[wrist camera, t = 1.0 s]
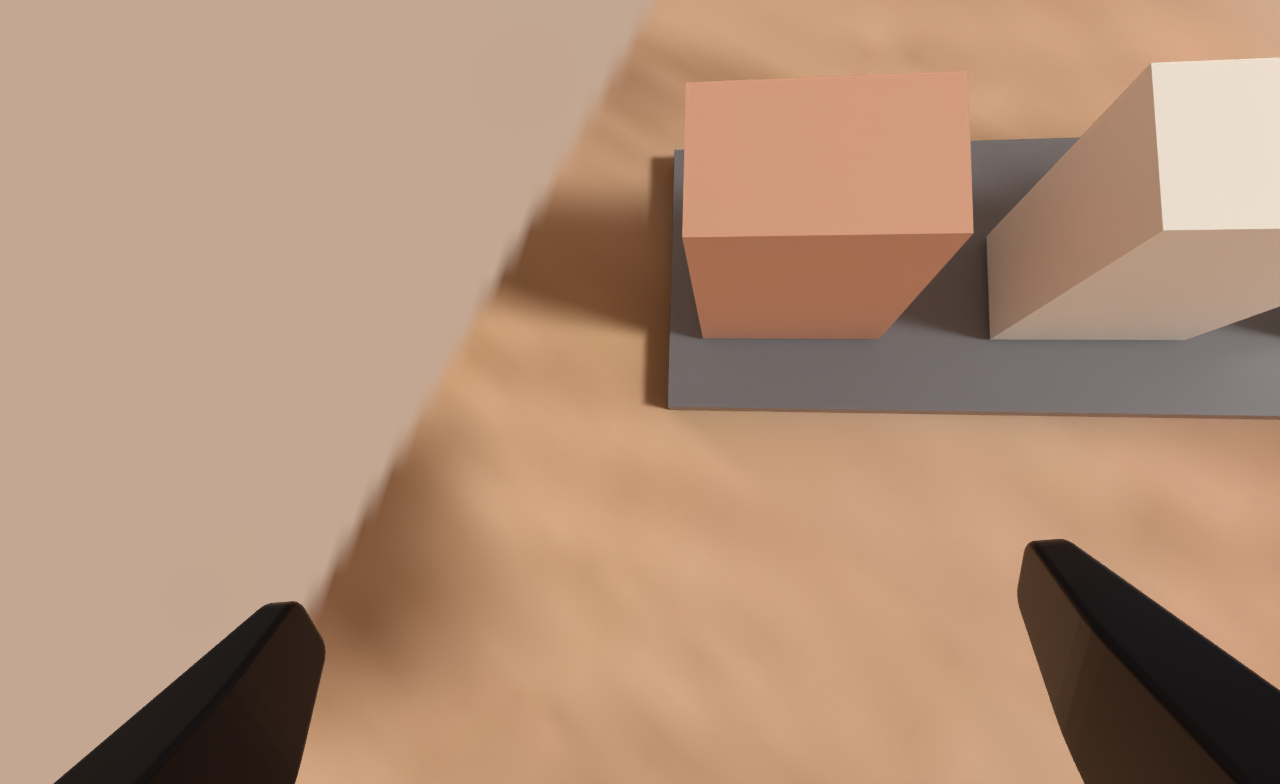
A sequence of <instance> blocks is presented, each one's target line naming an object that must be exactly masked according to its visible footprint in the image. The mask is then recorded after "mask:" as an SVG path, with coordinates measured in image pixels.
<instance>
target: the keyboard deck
mask: <svg viewBox="0 0 1280 784" xmlns="http://www.w3.org/2000/svg"><path fill="white" fill-rule="evenodd" d="M1078 139H1079V138H1051V139H1018V140H985V141H970V143H971V172H972V202H973V231H974V233H973V234H972V235H971V237H970V238H969V239H968V240H967V241H966V242H965V243H964V244H963V245H962V247H961V248H960V249H959V250H958V251H957V252H956V253H955V254H954V256H953V257H952V258H951V259H950V260H949V261H948V262H947V263H946V265H945V266H944V267H943V268H942V269H941V270H940V271H939V272H938V274H937V275H936V276H935V277H934V278H933V279H932V280H931V281H930V283H929V284H928V285H927V286H926V287H925V288H924V289H923V290H922V292H921V293H920V294H919V295H918V296H917V297H916V298H915V299H914V301H913V302H912V303H911V304H910V305H909V306H908V307H907V308H906V309H905V311H904V312H903V313H902V314H901V315H900V316H899V317H898V318H897V320H896V321H895V322H894V323H893V324H892V325H891V326H890V327H889V329H888V330H887V331H886V332H885V333H884V334H883V335H882V336H881V338H880V339H703V336H702V332H701V327H700V322H699V317H698V312H697V307H696V302H695V297H694V292H693V288H692V283H691V278H690V273H689V268H688V263H687V258H686V253H685V248H684V244H683V239H682V226H683V185H684V150H675V152H674V190H673V229H672V267H671V306H670V344H669V383H668V407H669V409H670V410H710V411H773V412H836V413H899V414H962V415H1026V416H1089V417H1152V418H1215V419H1278V420H1280V307H1277V308H1274V309H1271V310H1268V311H1266V312H1263V313H1260V314H1257V315H1254V316H1251V317H1249V318H1246V319H1243V320H1240V321H1237V322H1235V323H1232V324H1229V325H1226V326H1223V327H1221V328H1218V329H1215V330H1212V331H1209V332H1206V333H1204V334H1201V335H1198V336H1195V337H1192V338H1190V339H1187V340H990V322H989V295H988V267H987V240H986V236H987V235H988V234H989V233H990V232H991V231H992V230H993V229H994V228H995V227H996V226H997V225H998V224H999V223H1000V222H1001V220H1002V219H1003V218H1004V217H1005V216H1006V215H1007V214H1008V213H1009V212H1010V211H1011V210H1012V209H1013V208H1014V207H1015V206H1016V205H1017V204H1018V203H1019V202H1020V201H1021V199H1022V198H1023V197H1024V196H1025V195H1026V194H1027V193H1028V192H1029V191H1030V190H1031V189H1032V188H1033V187H1034V186H1035V185H1036V184H1037V183H1038V182H1039V181H1040V179H1041V178H1042V177H1043V176H1044V175H1045V174H1046V173H1047V172H1048V171H1049V170H1050V169H1051V168H1052V167H1053V166H1054V165H1055V164H1056V163H1057V162H1058V161H1059V159H1060V158H1061V157H1062V156H1063V155H1064V154H1065V153H1066V152H1067V151H1068V150H1069V149H1070V148H1071V147H1072V146H1073V145H1074V144H1075V143H1076V142H1077V141H1078Z"/></svg>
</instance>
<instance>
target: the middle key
mask: <svg viewBox="0 0 1280 784" xmlns="http://www.w3.org/2000/svg"><path fill="white" fill-rule="evenodd" d="M986 240H987V267H988V295H989V322H990V340H1187V339H1190V338H1192V337H1195V336H1198V335H1201V334H1204V333H1206V332H1209V331H1212V330H1215V329H1218V328H1221V327H1223V326H1226V325H1229V324H1232V323H1235V322H1237V321H1240V320H1243V319H1246V318H1249V317H1251V316H1254V315H1257V314H1260V313H1263V312H1266V311H1268V310H1271V309H1274V308H1277V307H1280V58H1257V59H1233V60H1210V61H1186V62H1162V63H1151V64H1150V65H1149V66H1148V67H1147V68H1146V69H1145V70H1144V71H1143V72H1142V73H1141V74H1140V75H1139V76H1138V77H1137V78H1136V80H1135V81H1134V82H1133V83H1132V84H1131V85H1130V86H1129V87H1128V88H1127V89H1126V90H1125V91H1124V92H1123V93H1122V94H1121V95H1120V96H1119V97H1118V98H1117V100H1116V101H1115V102H1114V103H1113V104H1112V105H1111V106H1110V107H1109V108H1108V109H1107V110H1106V111H1105V112H1104V113H1103V114H1102V115H1101V116H1100V117H1099V118H1098V120H1097V121H1096V122H1095V123H1094V124H1093V125H1092V126H1091V127H1090V128H1089V129H1088V130H1087V131H1086V132H1085V133H1084V134H1083V135H1082V136H1081V137H1080V138H1079V139H1078V141H1077V142H1076V143H1075V144H1074V145H1073V146H1072V147H1071V148H1070V149H1069V150H1068V151H1067V152H1066V153H1065V154H1064V155H1063V156H1062V157H1061V158H1060V159H1059V161H1058V162H1057V163H1056V164H1055V165H1054V166H1053V167H1052V168H1051V169H1050V170H1049V171H1048V172H1047V173H1046V174H1045V175H1044V176H1043V177H1042V178H1041V179H1040V181H1039V182H1038V183H1037V184H1036V185H1035V186H1034V187H1033V188H1032V189H1031V190H1030V191H1029V192H1028V193H1027V194H1026V195H1025V196H1024V197H1023V198H1022V199H1021V201H1020V202H1019V203H1018V204H1017V205H1016V206H1015V207H1014V208H1013V209H1012V210H1011V211H1010V212H1009V213H1008V214H1007V215H1006V216H1005V217H1004V218H1003V219H1002V220H1001V222H1000V223H999V224H998V225H997V226H996V227H995V228H994V229H993V230H992V231H991V232H990V233H989V234H988V235H987V236H986Z"/></svg>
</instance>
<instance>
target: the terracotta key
mask: <svg viewBox="0 0 1280 784" xmlns="http://www.w3.org/2000/svg"><path fill="white" fill-rule="evenodd" d="M973 233H974V231H973V202H972V172H971V143H970V113H969V84H968V71H947V72H924V73H900V74H876V75H853V76H829V77H805V78H782V79H758V80H735V81H711V82H687V83H686V101H685V143H684V185H683V226H682V239H683V244H684V248H685V253H686V258H687V263H688V268H689V273H690V278H691V283H692V288H693V292H694V297H695V302H696V307H697V312H698V317H699V322H700V327H701V332H702V336H703V339H880V338H881V336H882V335H883V334H884V333H885V332H886V331H887V330H888V329H889V327H890V326H891V325H892V324H893V323H894V322H895V321H896V320H897V318H898V317H899V316H900V315H901V314H902V313H903V312H904V311H905V309H906V308H907V307H908V306H909V305H910V304H911V303H912V302H913V301H914V299H915V298H916V297H917V296H918V295H919V294H920V293H921V292H922V290H923V289H924V288H925V287H926V286H927V285H928V284H929V283H930V281H931V280H932V279H933V278H934V277H935V276H936V275H937V274H938V272H939V271H940V270H941V269H942V268H943V267H944V266H945V265H946V263H947V262H948V261H949V260H950V259H951V258H952V257H953V256H954V254H955V253H956V252H957V251H958V250H959V249H960V248H961V247H962V245H963V244H964V243H965V242H966V241H967V240H968V239H969V238H970V237H971V235H972V234H973Z"/></svg>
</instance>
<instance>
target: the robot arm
mask: <svg viewBox="0 0 1280 784" xmlns="http://www.w3.org/2000/svg"><path fill="white" fill-rule="evenodd" d="M1017 597H1018V604H1019V608H1020V611H1021V614H1022V617H1023V620H1024V623H1025V626H1026V629H1027V632H1028V635H1029V638H1030V641H1031V644H1032V647H1033V650H1034V653H1035V656H1036V659H1037V662H1038V665H1039V668H1040V671H1041V674H1042V677H1043V680H1044V683H1045V686H1046V689H1047V692H1048V695H1049V698H1050V701H1051V704H1052V707H1053V710H1054V713H1055V715H1056V718H1057V721H1058V724H1059V726H1060V729H1061V732H1062V735H1063V737H1064V739H1065V742H1066V744H1067V746H1068V749H1069V751H1070V753H1071V756H1072V758H1073V760H1074V762H1075V764H1076V767H1077V769H1078V771H1079V773H1080V775H1081V777H1082V779H1083V782H1084V784H1280V690H1279V689H1277V688H1276V687H1274V686H1273V685H1272V684H1270V683H1269V682H1267V681H1266V680H1265V679H1263V678H1262V677H1260V676H1259V675H1258V674H1256V673H1255V672H1253V671H1252V670H1251V669H1249V668H1248V667H1246V666H1245V665H1243V664H1242V663H1241V662H1239V661H1238V660H1236V659H1235V658H1234V657H1232V656H1231V655H1229V654H1228V653H1227V652H1225V651H1224V650H1222V649H1221V648H1220V647H1218V646H1217V645H1215V644H1214V643H1213V642H1211V641H1210V640H1208V639H1207V638H1205V637H1204V636H1203V635H1201V634H1200V633H1198V632H1197V631H1196V630H1194V629H1193V628H1191V627H1190V626H1189V625H1187V624H1186V623H1184V622H1183V621H1182V620H1180V619H1179V618H1177V617H1176V616H1175V615H1173V614H1172V613H1170V612H1169V611H1167V610H1166V609H1165V608H1163V607H1162V606H1160V605H1159V604H1158V603H1156V602H1155V601H1153V600H1152V599H1151V598H1149V597H1148V596H1146V595H1145V594H1144V593H1142V592H1141V591H1139V590H1138V589H1137V588H1135V587H1134V586H1132V585H1131V584H1129V583H1128V582H1127V581H1125V580H1124V579H1122V578H1121V577H1120V576H1118V575H1117V574H1115V573H1114V572H1113V571H1111V570H1110V569H1108V568H1107V567H1106V566H1104V565H1103V564H1101V563H1100V562H1099V561H1097V560H1096V559H1094V558H1093V557H1091V556H1090V555H1089V554H1087V553H1086V552H1084V551H1083V550H1082V549H1080V548H1079V547H1077V546H1076V545H1075V544H1073V543H1071V542H1069V541H1067V540H1064V539H1052V540H1040V541H1032V542H1030V543H1028V544H1027V546H1026V548H1025V551H1024V555H1023V561H1022V566H1021V572H1020V577H1019V582H1018V589H1017ZM324 661H325V645H324V641H323V639H322V637H321V635H320V634H319V632H318V630H317V629H316V627H315V625H314V624H313V622H312V620H311V619H310V617H309V615H308V614H307V612H306V610H305V609H304V607H303V606H302V605H301V604H299V603H298V602H294V601H291V602H278V603H270V604H267V605H264V606H263V607H261V608H260V609H259V610H257V611H256V612H255V613H254V614H253V615H251V616H250V617H249V618H248V619H247V620H246V621H244V622H243V623H242V624H241V625H240V626H239V627H237V628H236V629H235V630H234V631H233V632H231V633H230V634H229V635H228V636H227V637H226V638H225V639H223V640H222V641H221V642H220V643H219V644H217V645H216V646H215V647H214V648H213V649H211V650H210V651H209V652H208V653H207V654H206V655H204V656H203V657H202V658H201V659H200V660H198V661H197V662H196V663H195V664H194V665H193V666H191V667H190V668H189V669H188V670H187V671H186V672H185V673H183V674H182V675H181V676H180V677H178V678H177V679H176V680H175V681H174V682H173V683H171V684H170V685H169V686H168V687H167V688H166V689H164V690H163V691H162V692H161V693H160V694H158V695H157V696H156V697H155V698H154V699H153V700H151V701H150V702H149V703H148V704H147V705H146V706H144V707H143V708H142V709H141V710H140V711H138V712H137V713H136V714H135V715H134V716H133V717H131V718H130V719H129V720H128V721H127V722H126V723H125V724H123V725H122V726H121V727H120V728H119V729H117V730H116V731H115V732H114V733H113V734H112V735H110V736H109V737H108V738H107V739H106V740H104V741H103V742H102V743H101V744H100V745H98V746H97V747H96V748H95V749H94V750H93V751H91V752H90V753H89V754H88V755H87V756H85V757H84V758H83V759H82V760H81V761H80V762H78V763H77V764H76V765H75V766H74V767H73V768H71V769H70V770H69V771H68V772H67V773H65V774H64V775H63V776H62V777H61V778H60V779H58V780H57V781H56V782H55V783H54V784H295V781H296V778H297V775H298V771H299V768H300V764H301V760H302V756H303V752H304V748H305V743H306V739H307V735H308V730H309V726H310V722H311V717H312V713H313V709H314V704H315V700H316V696H317V692H318V687H319V683H320V679H321V674H322V670H323V666H324Z"/></svg>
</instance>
